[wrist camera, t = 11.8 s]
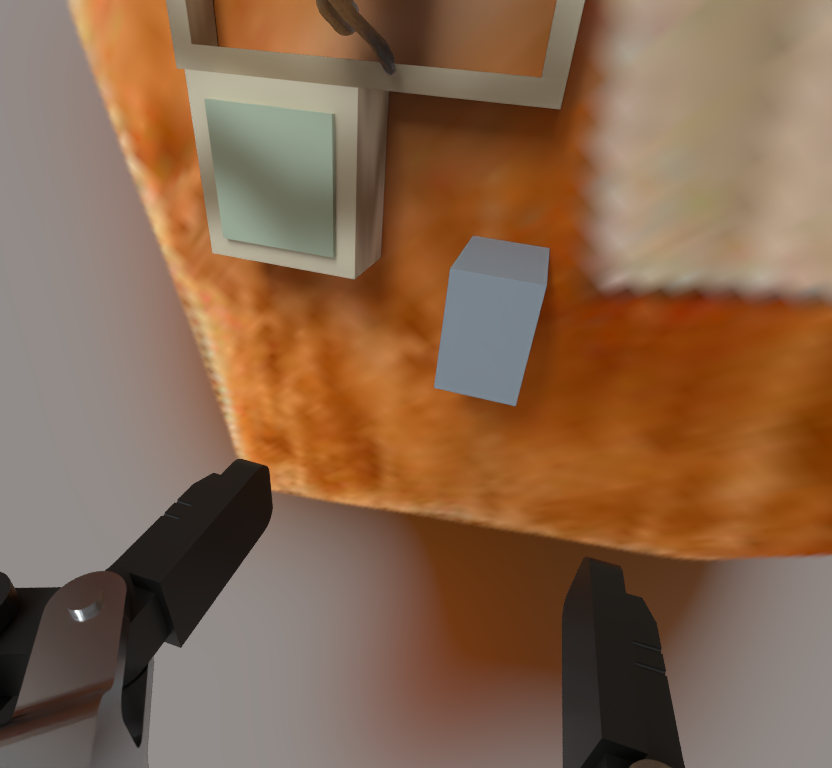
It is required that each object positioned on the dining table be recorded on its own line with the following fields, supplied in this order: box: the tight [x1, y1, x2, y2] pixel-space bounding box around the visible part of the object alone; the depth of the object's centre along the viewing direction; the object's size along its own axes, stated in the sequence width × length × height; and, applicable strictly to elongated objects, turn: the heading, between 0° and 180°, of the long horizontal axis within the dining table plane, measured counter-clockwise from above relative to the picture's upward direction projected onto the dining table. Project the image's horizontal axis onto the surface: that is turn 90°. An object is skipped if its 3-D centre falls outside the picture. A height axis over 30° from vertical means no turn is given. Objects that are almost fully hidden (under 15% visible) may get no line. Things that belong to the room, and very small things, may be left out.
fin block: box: [434, 236, 550, 406], centre depth 23 cm, size 6×4×6 cm, turn 174°
